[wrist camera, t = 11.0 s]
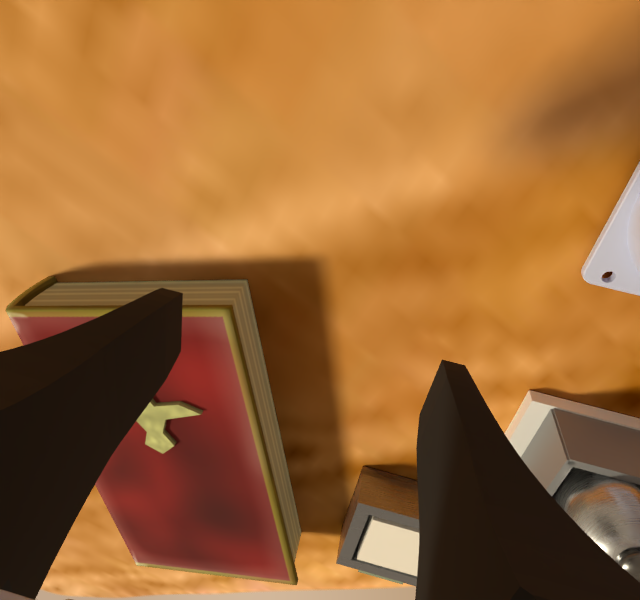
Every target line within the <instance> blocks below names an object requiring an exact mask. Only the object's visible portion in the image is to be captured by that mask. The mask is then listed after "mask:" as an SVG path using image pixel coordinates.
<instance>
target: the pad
mask: <svg viewBox="0 0 640 600" xmlns="http://www.w3.org/2000/svg"><path fill="white" fill-rule="evenodd" d="M418 556H419V529H418V528H414V527H411V526H407V525H404V524H400V523H396V522H393V521H389V520H386V519H382V518H379V517H375V516H371V515H370V517H369V519H368V522H367V524H366V527H365V529H364V532H363V534H362V537H361V540H360V542H359V545H358V554H357V559H358V560H361V561H365V562H368V563H372V564H375V565H379V566H382V567H386V568H389V569H393V570H396V571H400V572H403V573H407V574H410V575H414V576H417V571H418Z"/></svg>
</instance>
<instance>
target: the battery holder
mask: <svg viewBox="0 0 640 600" xmlns="http://www.w3.org/2000/svg"><path fill="white" fill-rule="evenodd" d="M505 436H506V437H507V439H508V440H509V441H510V443H511V444H512V446H513V447H514V449H515V450H516V452H517V453H518V454H519V456H520V457H521V459H522V460H523V461H524V463H525V464H526V465H527V467H528V468H529V469H530V471H531V472H532V473H533V474H534V476H535V477H536V478H537V479H538V481H539V482H540V483H541V484H542V486H543V487H544V488H545V489H546V490H547V492H548V493H549V494H550V495H551V496H552V497H553V499H554V500H555V498H554V495H553V494H554V493H555V491H556V490H557V489H558V487H559V486H560V484H561V483H562V482H563V480H564V479H565V477H566V476H567V475H568V473H569V472H570V470H571V469H572V467H575V468H579V469H582V470H586V471H590V472H594V473H597V474H601V475H605V476H609V477H612V478H616V479H621V480H625V481H628V482H631V483H635V484H639V485H640V418H636V417H632V416H628V415H624V414H620V413H616V412H612V411H609V410H605V409H601V408H597V407H593V406H589V405H585V404H582V403H578V402H574V401H570V400H566V399H562V398H558V397H554V396H551V395H547V394H543V393H539V392H535V391H531V390H529V391H528V393H527V395H526V396H525V398H524V400H523V402H522V403H521V405H520V407H519V409H518V411H517V412H516V414H515V416H514V418H513V419H512V421H511V423H510V425H509V427H508V428H507V430H506V432H505ZM555 501H556V500H555Z"/></svg>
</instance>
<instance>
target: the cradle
mask: <svg viewBox="0 0 640 600" xmlns="http://www.w3.org/2000/svg"><path fill="white" fill-rule="evenodd" d="M370 515H371V516H375V517H379V518H382V519H386V520H389V521H393V522H396V523H400V524H404V525H407V526H411V527H414V528H418V529H419V504H418V481H417V480H413V479H409V478H406V477H402V476H398V475H395V474H391V473H387V472H384V471H380V470H376V469H373V468H369V467H365V466H363V468H362V471H361V474H360V476H359V479H358V482H357V485H356V488H355V491H354V494H353V497H352V499H351V502H350V505H349V508H348V511H347V514H346V517H345V519H344V522H343V525H342V530H341V536H340V543H339V549H338V555H337V562H336V563H337V564H341V565H344V566H348V567H351V568H355V569H358V572H361V573H365V574H368V575H372V576H375V577H379V578H382V579H386V580H389V581H393V582H396V583H400V584H403V583H407V584H410V585H414V586H416V585H417V576H414V575H410V574H407V573H403V572H400V571H396V570H393V569H389V568H386V567H382V566H379V565H375V564H372V563H368V562H365V561H361V560H358V559H357V554H358V545H359V542H360V540H361V537H362V534H363V532H364V529H365V527H366V524H367V522H368V519H369V517H370Z"/></svg>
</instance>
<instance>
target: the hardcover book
mask: <svg viewBox="0 0 640 600" xmlns="http://www.w3.org/2000/svg"><path fill="white" fill-rule="evenodd" d="M160 288H165V289H169V290H173V291H177V292H181V293H183V302H182V337H181V352H180V354H179V356H178V358H177V360H176V362H175V364H174V366H173V368H172V370H171V371H170V373H169V375H168V377H167V379H166V380H165V382H164V383H163V385H162V386H161V388H160V389H159V390H158V392H157V393H156V394H155V396H154V397H153V399H152V400H151V401H150V403H149V404H148V406H147V407H146V408H145V410H144V411H143V412H142V414H141V415H140V416H139V418H138V419H137V421H136V422H135V423H134V425H133V426H132V427H131V429H130V430H129V431H128V433H127V434H126V436H125V437H124V438H123V440H122V441H121V442H120V444H119V445H118V447H117V448H116V450H115V451H114V453H113V454H112V456H111V457H110V459H109V461H108V462H107V464H106V466H105V468H104V469H103V471H102V473H101V475H100V476H99V478H98V480H97V481H96V483H95V485H96V487H97V489H98V491H99V493H100V495H101V497H102V499H103V501H104V503H105V504H106V506H107V508H108V510H109V512H110V514H111V516H112V518H113V520H114V522H115V524H116V526H117V528H118V530H119V532H120V534H121V536H122V537H123V539H124V541H125V543H126V545H127V547H128V549H129V551H130V553H131V555H132V557H133V559H134V561H135V563H136V565H137V566H145V567H153V568H162V569H170V570H178V571H186V572H194V573H202V574H210V575H218V576H226V577H235V578H243V579H251V580H259V581H267V582H275V583H283V584H291V585H297V582H298V577H297V573H296V569H295V564H294V562H295V558H296V553H297V549H298V545H299V540H300V536H301V528H300V523H299V518H298V514H297V509H296V504H295V500H294V495H293V490H292V486H291V481H290V476H289V472H288V467H287V462H286V458H285V453H284V448H283V444H282V439H281V434H280V430H279V425H278V420H277V416H276V411H275V406H274V402H273V397H272V392H271V388H270V383H269V378H268V374H267V369H266V364H265V360H264V355H263V350H262V346H261V341H260V336H259V332H258V327H257V322H256V318H255V313H254V308H253V304H252V299H251V294H250V290H249V285H248V280H247V279H238V280H181V281H124V282H67V283H57V280H56V278H55V276H49V277H47V278H45V279H43V280H42V281H40V282H38V283H37V284H35V285H34V286H32V287H30V288H29V289H27V290H26V291H25V292H23V293H22V294H21V295H19V296H18V297H17V298H16V299H15V300H13V301H12V302H11V303H10V304H9V305H8V306H7V308H6V312H7V314H8V316H9V318H10V320H11V322H12V324H13V326H14V328H15V329H16V331H17V333H18V335H19V337H20V339H21V341H22V343H23V345H27V344H30V343H33V342H36V341H39V340H42V339H45V338H48V337H51V336H54V335H56V334H59V333H62V332H64V331H67V330H69V329H71V328H74V327H76V326H79V325H81V324H83V323H86V322H88V321H91V320H93V319H95V318H98V317H100V316H102V315H104V314H106V313H108V312H111V311H113V310H115V309H117V308H119V307H121V306H123V305H126V304H128V303H130V302H132V301H134V300H136V299H138V298H140V297H142V296H144V295H146V294H148V293H151V292H153V291H155V290H157V289H160Z"/></svg>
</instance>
